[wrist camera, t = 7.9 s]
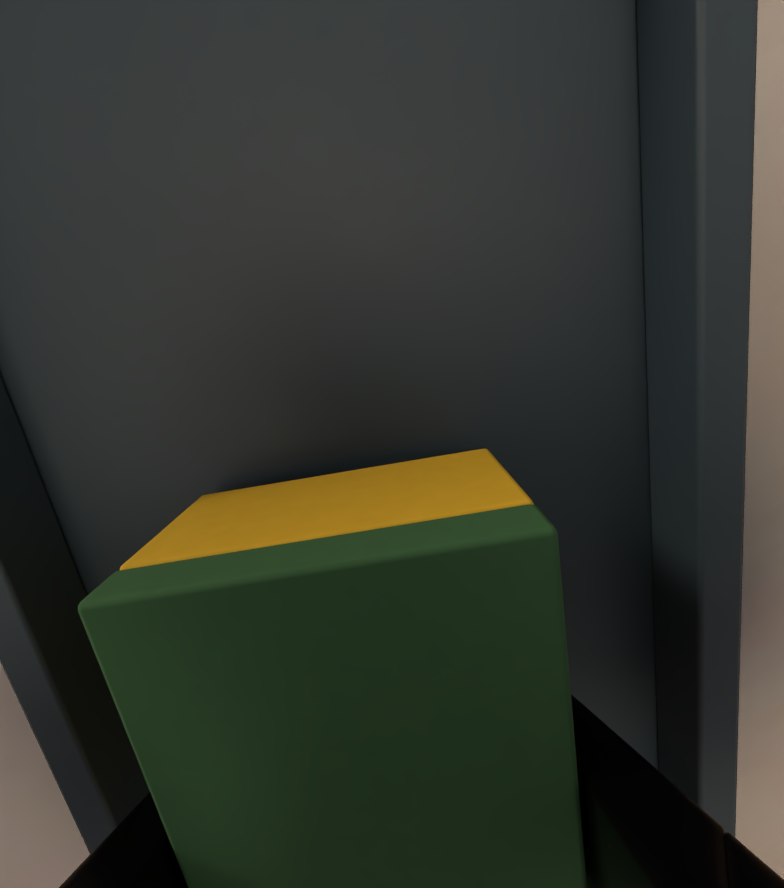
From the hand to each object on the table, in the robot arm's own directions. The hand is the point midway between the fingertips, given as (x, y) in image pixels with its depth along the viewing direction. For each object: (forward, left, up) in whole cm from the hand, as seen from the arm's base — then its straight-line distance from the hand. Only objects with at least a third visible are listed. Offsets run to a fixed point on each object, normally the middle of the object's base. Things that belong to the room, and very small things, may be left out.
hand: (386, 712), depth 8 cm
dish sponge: (0, 0, -1) cm, 1 cm away
